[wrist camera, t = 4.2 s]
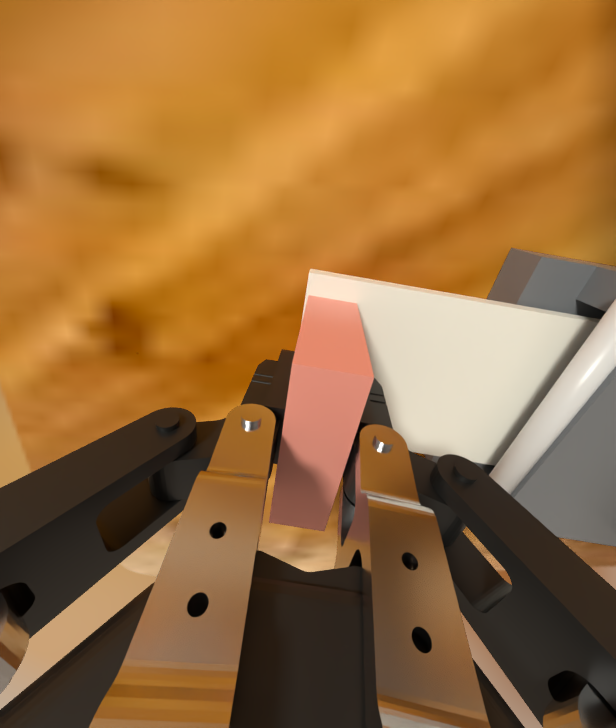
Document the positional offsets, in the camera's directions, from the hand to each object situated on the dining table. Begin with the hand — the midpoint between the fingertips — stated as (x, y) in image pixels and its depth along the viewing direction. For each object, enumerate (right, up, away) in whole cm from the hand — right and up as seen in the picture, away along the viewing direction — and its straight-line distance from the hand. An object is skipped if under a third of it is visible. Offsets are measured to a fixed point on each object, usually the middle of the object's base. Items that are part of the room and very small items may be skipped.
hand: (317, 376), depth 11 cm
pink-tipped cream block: (+9, -1, +1) cm, 9 cm away
